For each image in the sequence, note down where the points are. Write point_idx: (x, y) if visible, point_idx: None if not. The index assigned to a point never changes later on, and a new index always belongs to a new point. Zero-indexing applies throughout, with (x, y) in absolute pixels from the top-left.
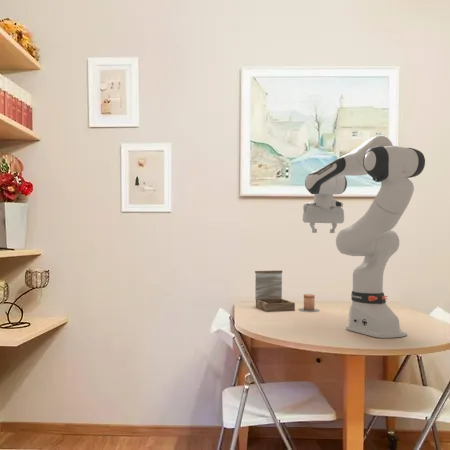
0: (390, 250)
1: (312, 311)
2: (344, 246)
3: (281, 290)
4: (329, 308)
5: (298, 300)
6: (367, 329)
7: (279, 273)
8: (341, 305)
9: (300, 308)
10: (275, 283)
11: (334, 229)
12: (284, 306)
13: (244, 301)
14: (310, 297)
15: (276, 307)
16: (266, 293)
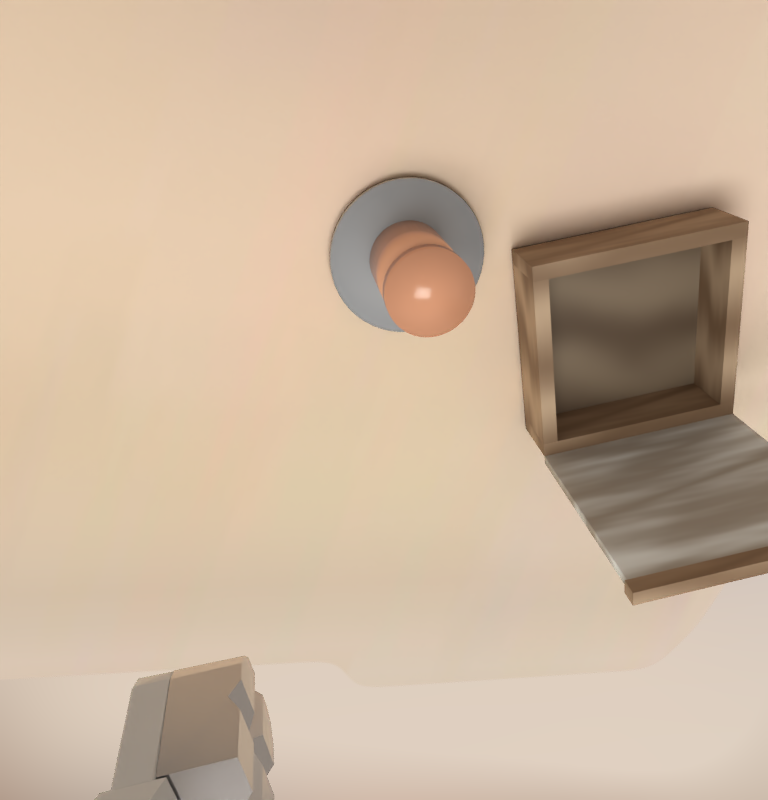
0: None
1: (407, 192)
2: None
3: (567, 488)
4: (210, 371)
5: (330, 640)
6: None
7: (647, 570)
8: (81, 482)
9: None
10: (642, 508)
11: (121, 778)
12: (605, 243)
13: None
14: (433, 244)
15: (664, 229)
16: (677, 451)
